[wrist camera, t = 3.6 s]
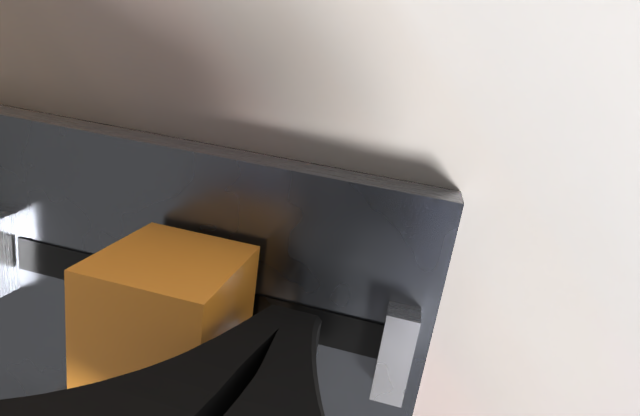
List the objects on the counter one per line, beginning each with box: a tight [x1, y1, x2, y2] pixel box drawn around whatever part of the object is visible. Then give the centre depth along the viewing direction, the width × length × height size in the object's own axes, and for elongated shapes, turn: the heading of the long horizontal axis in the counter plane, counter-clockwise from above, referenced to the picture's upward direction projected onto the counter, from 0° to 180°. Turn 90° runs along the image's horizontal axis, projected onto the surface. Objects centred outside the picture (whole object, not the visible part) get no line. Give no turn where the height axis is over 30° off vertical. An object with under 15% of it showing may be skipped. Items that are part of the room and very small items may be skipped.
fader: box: [64, 222, 260, 389], centre depth 11 cm, size 4×3×3 cm
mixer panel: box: [0, 105, 464, 416], centre depth 15 cm, size 16×15×2 cm
